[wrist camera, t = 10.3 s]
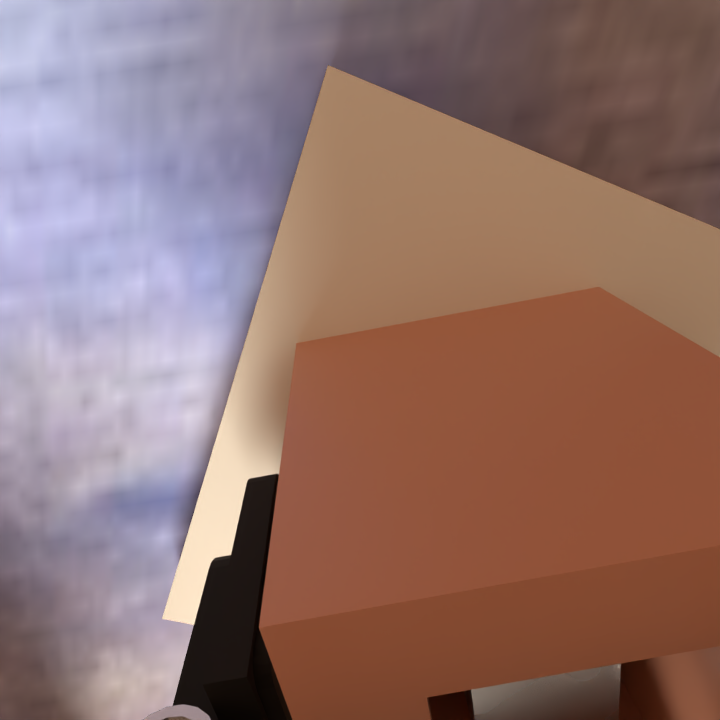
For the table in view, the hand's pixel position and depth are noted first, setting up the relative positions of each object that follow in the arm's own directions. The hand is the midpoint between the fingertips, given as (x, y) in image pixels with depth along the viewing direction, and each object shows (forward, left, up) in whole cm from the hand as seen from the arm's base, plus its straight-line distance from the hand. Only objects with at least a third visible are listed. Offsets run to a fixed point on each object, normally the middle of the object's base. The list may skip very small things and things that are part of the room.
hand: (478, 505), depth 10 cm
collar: (0, 0, -1) cm, 1 cm away
